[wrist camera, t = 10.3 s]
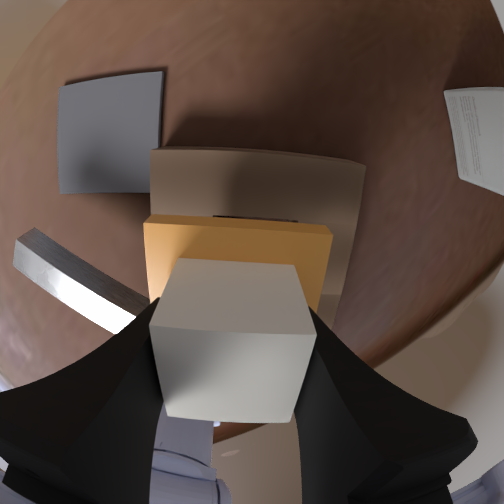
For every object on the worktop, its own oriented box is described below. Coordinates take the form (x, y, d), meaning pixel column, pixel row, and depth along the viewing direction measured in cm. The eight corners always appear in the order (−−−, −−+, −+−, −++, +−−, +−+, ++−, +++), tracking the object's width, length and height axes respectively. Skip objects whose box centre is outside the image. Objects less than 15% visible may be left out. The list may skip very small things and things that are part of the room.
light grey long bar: (216, 319, 19) (212, 355, 15) (202, 338, 19) (197, 373, 16) (46, 220, 15) (16, 239, 12) (40, 243, 16) (12, 265, 13)
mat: (159, 191, 18) (157, 192, 18) (63, 192, 18) (59, 194, 17) (164, 72, 15) (162, 71, 15) (62, 87, 15) (59, 87, 14)
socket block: (320, 312, 23) (329, 336, 20) (169, 305, 22) (161, 329, 19) (348, 159, 18) (366, 165, 15) (164, 146, 17) (150, 149, 14)
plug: (289, 313, 16) (315, 436, 9) (176, 306, 16) (140, 427, 8) (307, 202, 13) (375, 293, 6) (172, 193, 13) (95, 276, 6)
